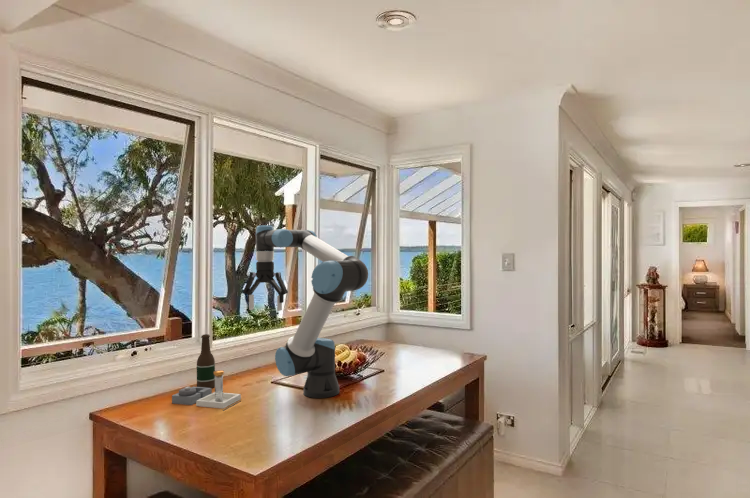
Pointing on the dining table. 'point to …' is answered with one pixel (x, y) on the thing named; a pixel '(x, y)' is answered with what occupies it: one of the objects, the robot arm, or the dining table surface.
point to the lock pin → (219, 385)
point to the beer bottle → (205, 365)
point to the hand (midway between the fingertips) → (265, 310)
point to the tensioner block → (190, 395)
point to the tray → (227, 400)
